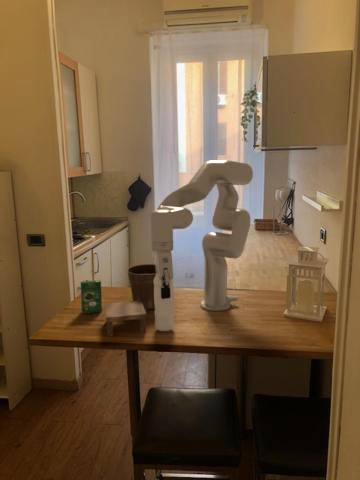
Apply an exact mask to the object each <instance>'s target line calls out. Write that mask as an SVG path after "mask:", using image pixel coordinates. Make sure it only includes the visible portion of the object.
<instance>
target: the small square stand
mask: <svg viewBox="0 0 360 480" xmlns="http://www.w3.org/2000/svg"><path fill="white" fill-rule="evenodd" d="M104 311H105V320H106V321H105V322H106V323H107V324H106V325H107V328H106V329H107V336H108V337H110V336H109V335H113V336H114V325H113V324H114V323H113V322H120V321H121V322H122V321H130V320H131V321H132V320H137V321H139V330H140V333H146V331H147V329H146V327H147V324H146V322H147V321H146V320H147V312H146V310H145V309H144V306H143V304H142V301H133V300H132V301H121V302H109V303H108V302H107V303H104Z"/></svg>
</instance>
